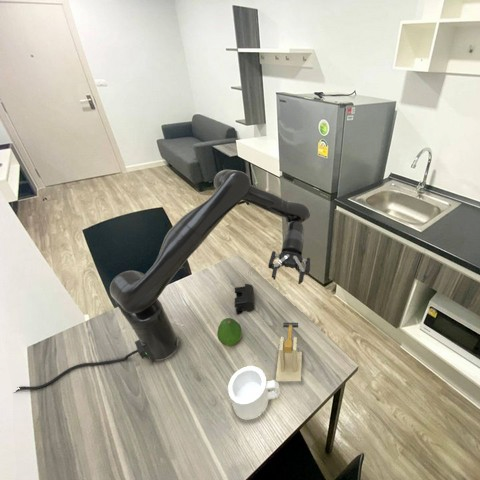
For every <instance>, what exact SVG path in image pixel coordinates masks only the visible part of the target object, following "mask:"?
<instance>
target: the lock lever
mask: <svg viewBox="0 0 480 480" xmlns="http://www.w3.org/2000/svg"><path fill="white" fill-rule="evenodd" d="M282 328H288V331H287V337H286V338H287V339H286V340H285V339H284V353H292V352H293V340H292V334H293V328H296V329H297V328H299V322H283V324H282Z"/></svg>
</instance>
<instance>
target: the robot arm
mask: <svg viewBox="0 0 480 480" xmlns="http://www.w3.org/2000/svg"><path fill="white" fill-rule="evenodd" d="M213 187H214V189H215V190H216V191H215V192H214V193H213V194H212V195H211V196H210V197H208V199H206V201H204V202H202V203H201V204H199V205H198V206H196V207H195V208H193V209H191V210H190V211H188V212H186V214H184V215H182V217H181V218H179V219H178V221H176V223H175V224H174V225H173V226H172V227H170V229H169V230H168V232H167V233H166V234H165V236H164V239H163V241H162V244H161V246H160V249H159V252H158V255H157V257H156V259H155V261H154V262H153V265H152V266H151V267H150V268H149V269H148V270H147V271H146V273H143V272H141V271H138V270H126V271H122V272H121V273H119V274H118V275H116V276H115V277H114V278H113V279H112V281H111V283H110V285H109V293H110V296H111V298H112V299H113V301H114V302H115V305H116V306H117V307H118V309H119V311H120V313H121V314H122V315H123V316H124V318H125V319H126V321H127V322H128V323H129V325H130V326H131V328H132V330H133V331H134V334H135V335H136V336H137V338H138V340H136V341H134V345H135V346H136V350H134V351H132V352H130V353H128V354H127V355H126V356H124V357H122V358H117V359H112V360H104V361H97V362H83V363H78V364H76V365H73V366H71V367H69V368H67V369H65V370H64V371H62V372H61V373H60V374H58V375H57V376H55V377H54V378H53V379H51V380H49V381H48V382H45V383H43V384H40V385H35V386H27V385H26V386H18V387H19V388H20V390H22V391H23V390H27V391H31V390H38V389H42V388H45V387H47V386H49V385H51V384H53V383H55V382H56V381H57V380H59V379H60V378H61V377H63V376H64V375H65V374H67V373H69V372H70V371H72V370H75V369H77V368H80V367H86V366H87V367H88V366H100V365H105V364H106V365H107V364H114V363H119V362H123V361H127V360H128V359H129V358H130V357H131V356H133V355H135V354H137V353H138V355H139V356H140V358H141V359H144V358H146V357H148V359H149V361H150V362H151V363H156V362H162V361H166V360H168V359H170V358H171V357H173V356H174V355H175V354H176V352H177V351H178V349H179V347H180V340H179V337H178V336H177V334H176V332H175V330H174V328H173V326H172V324H171V321H170V319H169V318H168V315H167V313H166V311H165V309H164V306H163V304H162V303H161V301H160V300H159V297H160V296H161V295H162V293H163V292H164V290H165V289H166V288H167V286H168V285H169V283H170V282H171V281H172V279H173V278H174V277H175V275H176V274H177V273H178V271H180V270H181V268H182V267H183V266H184V264H185V263H186V262H187V260H189V258H190V257H191V256H192V255H193V254H194V252H195V251H196V250H198V248H199V247H200V246H201V245H202V244H203V243H204V241H206V239H207V238H209V235H210V234H211V233H212V232H213V231H214V230H215V229H216V228H217V226H218V225H219V224H220V223H221V222H222V221H223V219H225V217H226V216H227V215H228V214H229V213H230V212H231V211H232V210H233V209H234V208H235V207H236V206H238V204H239V203H241V202H242V201H243V202H246V203H248V204H251V205H253V206H256V207H257V208H260V209H262V210H264V211H266V212H267V213H268V212H269V213H270V214H273V215H275V216H277V217H280V218H284V220H285V226H286V229H285V235H284V237H283V241H282V247H281V251H280V253H277V252H276V251H275V250H273V251H272V252H271V255H270V258H269V261H268V269H271V270H272V271H271V278H272V279H273V281H274V280H276V278H277V273H278V270H279V269H282V268H283V267H285V268H290V269H295V271H296V272H297V273H298V274H299V275H298V281H297V282H298V284H297V285H301V284H302V283H303V282H304V280H305V279H304V278H305V275H306V276H309V274H310V271H311V258H310V257H306V258H303V248H304V237H305V225H304V222H306V221H307V220H308V219H309V218H310V217H311V210H310V208H309V207H308V206H307V205H306V204H304V203H302V202H297V201H292V200H287V199H285V198H283V197H282V196H279V195H277V194H275V193H272V192H269V191H266V190H264V189H262V188H259V187H257V186H254V185H252V183H251V179H250V176H249V175H248V174H247V173H245V172H243V171H241V170H236V169H223V170H220V171H218V172H217V173H216V175H215V176H214V178H213ZM277 259H279V260H278V261H277V262H275V263H274V261H275V260H277ZM302 263H303V264H302ZM303 265H304V266H305V268H304V267H303ZM20 390H19V391H20Z"/></svg>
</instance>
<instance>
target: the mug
mask: <svg viewBox="0 0 480 480" xmlns="http://www.w3.org/2000/svg"><path fill="white" fill-rule="evenodd" d="M275 380H276V379H273V380H268V381H267V377H266V374H265V372H264V371H263V370H262V368H260V367H258V366H255V365H247V366H244V367H241V368H239V369H238V370H236V371H235V372H234V373H233V374H232V376H231V377H230V380H229V381H228V386H227V392H228V396H229V399H230V402H231V405H232V408H233V411H234V413H235V414H236V416H237V417H239V418H240V419H243V420H246V421H247V420H254V419H256V418H258V417H259V416H261V415H262V414H263V413H264V412H265V410H266V409H267V407H268V404H269V401H270V400H274V399H278V398H279V396H280V395H281V391H280V390H281V389H280V382H279V381H275ZM273 389H274V390H273ZM269 390H271V391H269Z"/></svg>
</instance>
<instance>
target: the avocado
mask: <svg viewBox="0 0 480 480" xmlns="http://www.w3.org/2000/svg"><path fill="white" fill-rule="evenodd" d="M216 335H217V339H218V342H220V343H221V344H222V345H223V346H225V347H233V346H234V345H236V344H237V343H238V342H240V340H241V338H242V335H243V330H242V326H241V324H240V323H239V322H238V321H236V320H235V319H233V318H231V317H225V318H223V319H222V320H221V321H220V323H219V325H218V328H217V334H216Z"/></svg>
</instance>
